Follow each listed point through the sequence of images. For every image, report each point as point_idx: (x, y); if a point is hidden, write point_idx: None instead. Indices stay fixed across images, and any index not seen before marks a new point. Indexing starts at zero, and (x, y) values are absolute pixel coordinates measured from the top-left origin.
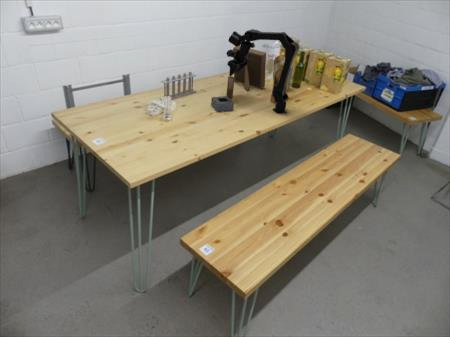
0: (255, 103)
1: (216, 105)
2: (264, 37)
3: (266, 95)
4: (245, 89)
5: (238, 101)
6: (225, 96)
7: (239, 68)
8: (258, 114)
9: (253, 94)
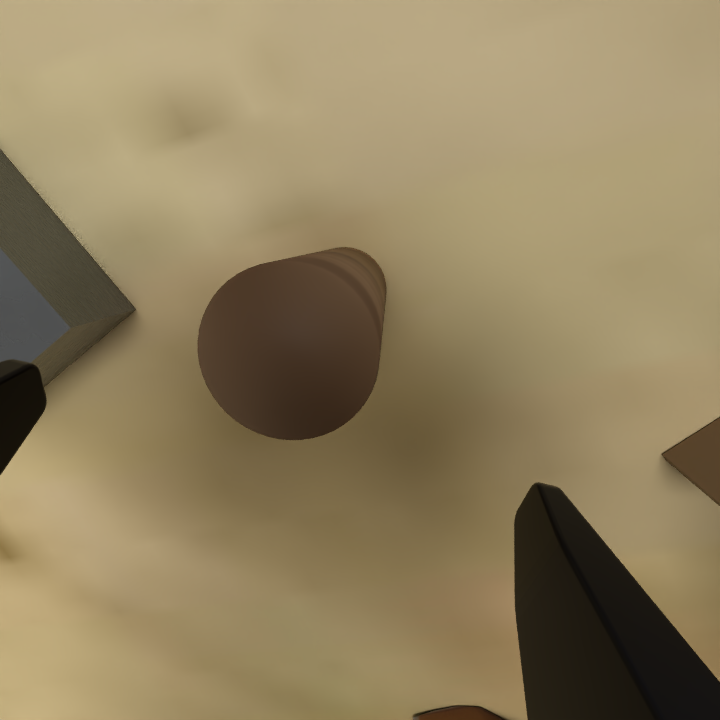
0: (320, 587)
1: None
2: None
3: None
4: (718, 425)
5: None
6: (38, 305)
7: (555, 703)
8: (74, 641)
9: None
